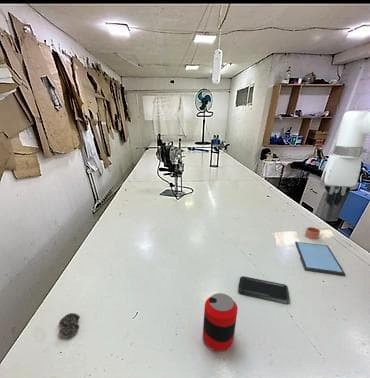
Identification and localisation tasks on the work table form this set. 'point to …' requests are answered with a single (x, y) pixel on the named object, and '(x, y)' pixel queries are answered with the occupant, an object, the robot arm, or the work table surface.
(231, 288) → the work table surface
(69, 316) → the corroded twin loop
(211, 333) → the soda can
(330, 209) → the stylus
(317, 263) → the tablet
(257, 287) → the phone
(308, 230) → the pen cup
